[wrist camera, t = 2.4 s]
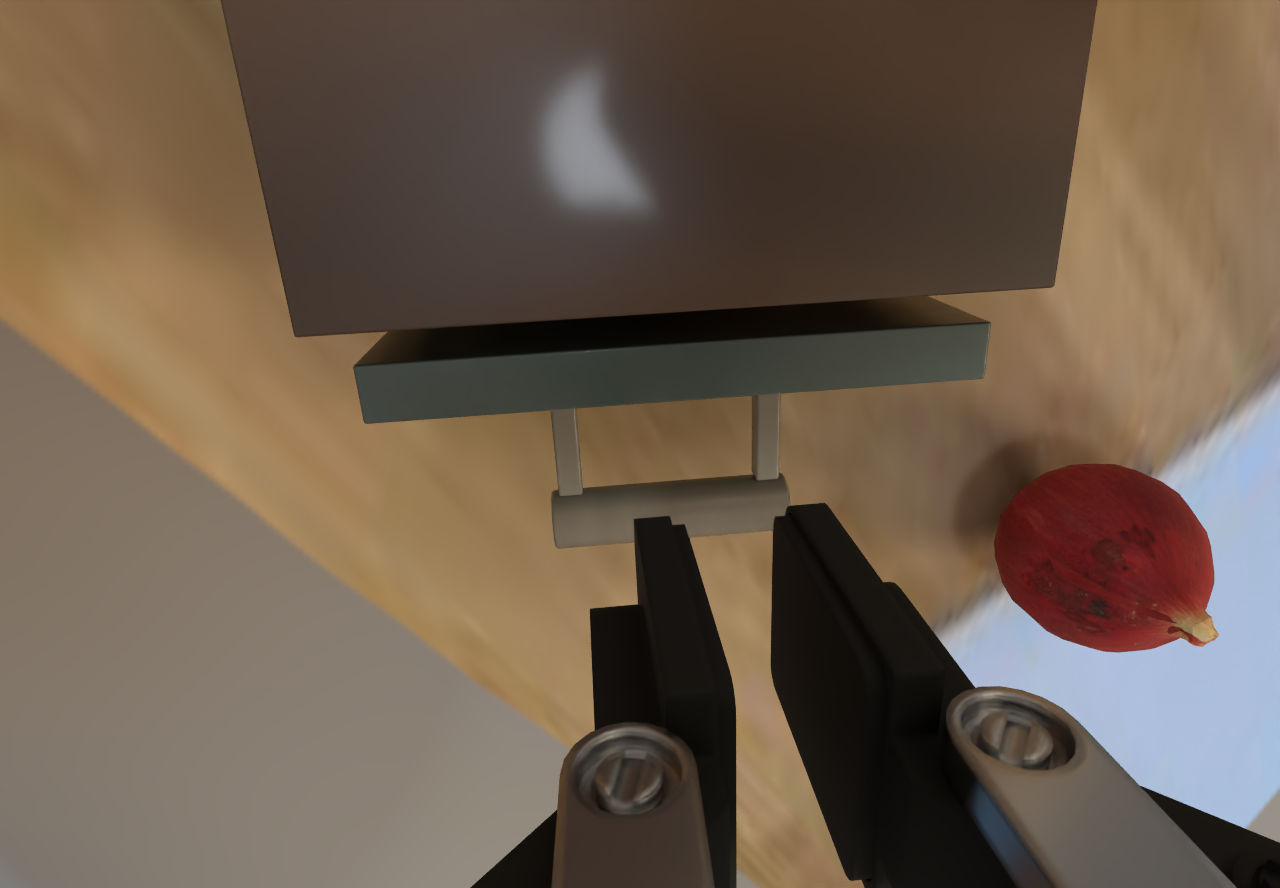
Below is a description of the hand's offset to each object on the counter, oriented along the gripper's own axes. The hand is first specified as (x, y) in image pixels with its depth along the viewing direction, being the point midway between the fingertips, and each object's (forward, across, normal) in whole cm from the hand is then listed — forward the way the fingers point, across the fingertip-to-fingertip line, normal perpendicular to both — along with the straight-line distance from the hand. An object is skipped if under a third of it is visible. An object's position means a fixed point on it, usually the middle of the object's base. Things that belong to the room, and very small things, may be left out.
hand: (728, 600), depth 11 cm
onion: (+14, -14, +6) cm, 21 cm away
